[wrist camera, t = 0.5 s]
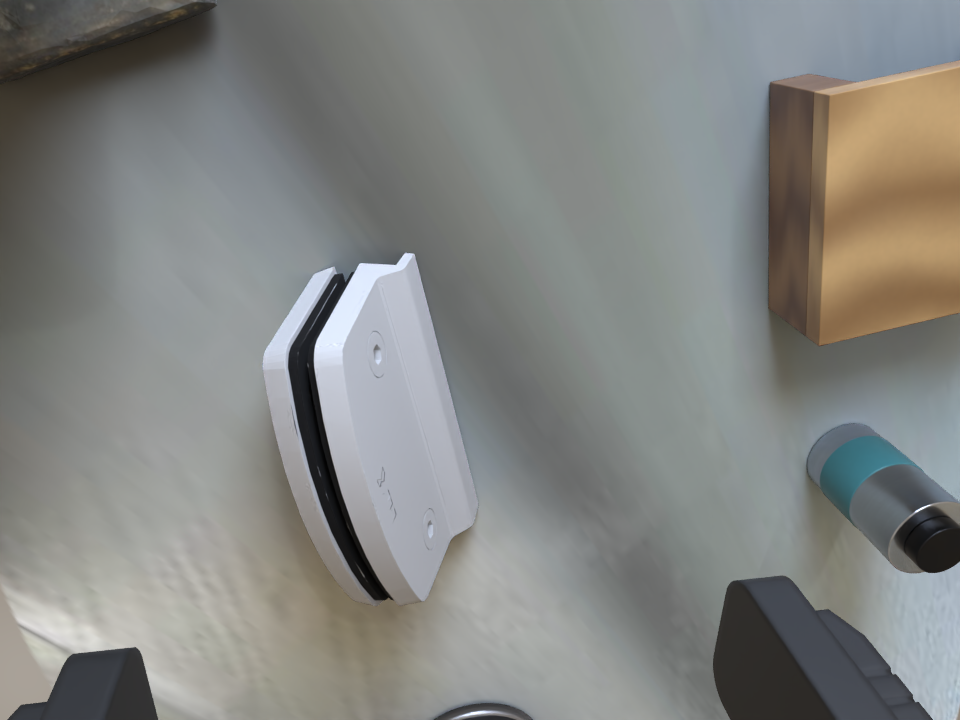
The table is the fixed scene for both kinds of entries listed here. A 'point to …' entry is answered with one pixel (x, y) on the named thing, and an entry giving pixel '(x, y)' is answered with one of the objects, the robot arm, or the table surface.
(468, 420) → the table surface
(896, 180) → the stand
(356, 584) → the white rounded block
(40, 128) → the table surface
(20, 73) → the embossing press
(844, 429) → the silver teal canister
